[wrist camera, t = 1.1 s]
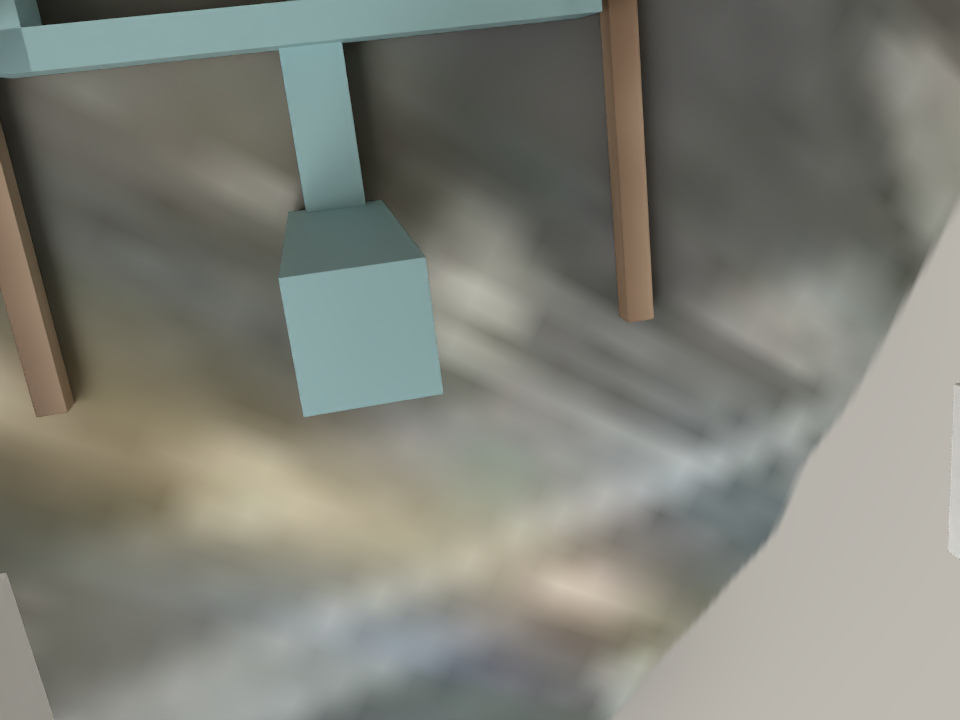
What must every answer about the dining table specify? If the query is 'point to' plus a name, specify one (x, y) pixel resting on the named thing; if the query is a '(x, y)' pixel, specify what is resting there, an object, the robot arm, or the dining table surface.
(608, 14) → the wooden slat rack
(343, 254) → the sled
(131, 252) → the dining table surface
